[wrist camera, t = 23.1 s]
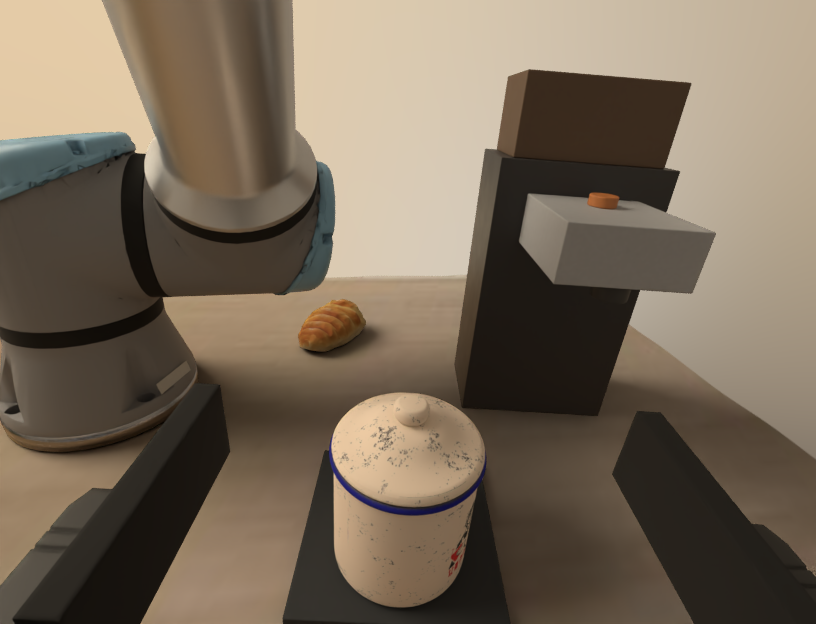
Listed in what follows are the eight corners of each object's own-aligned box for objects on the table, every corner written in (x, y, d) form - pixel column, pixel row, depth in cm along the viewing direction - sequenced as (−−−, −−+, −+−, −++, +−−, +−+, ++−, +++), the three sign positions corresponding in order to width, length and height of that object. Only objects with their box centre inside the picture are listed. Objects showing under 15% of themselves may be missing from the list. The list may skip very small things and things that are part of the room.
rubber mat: (510, 636, 24) (512, 630, 24) (282, 625, 24) (282, 619, 24) (477, 464, 36) (478, 458, 36) (324, 455, 36) (324, 450, 35)
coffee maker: (644, 492, 34) (830, 73, 21) (474, 482, 34) (559, 50, 21) (571, 371, 50) (652, 88, 37) (454, 364, 50) (495, 75, 37)
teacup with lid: (481, 612, 25) (518, 464, 20) (323, 619, 24) (319, 466, 19) (447, 458, 35) (465, 337, 30) (338, 459, 34) (338, 334, 29)
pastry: (332, 362, 48) (332, 333, 47) (283, 348, 50) (281, 320, 49) (368, 328, 56) (369, 302, 55) (324, 317, 58) (324, 292, 57)
